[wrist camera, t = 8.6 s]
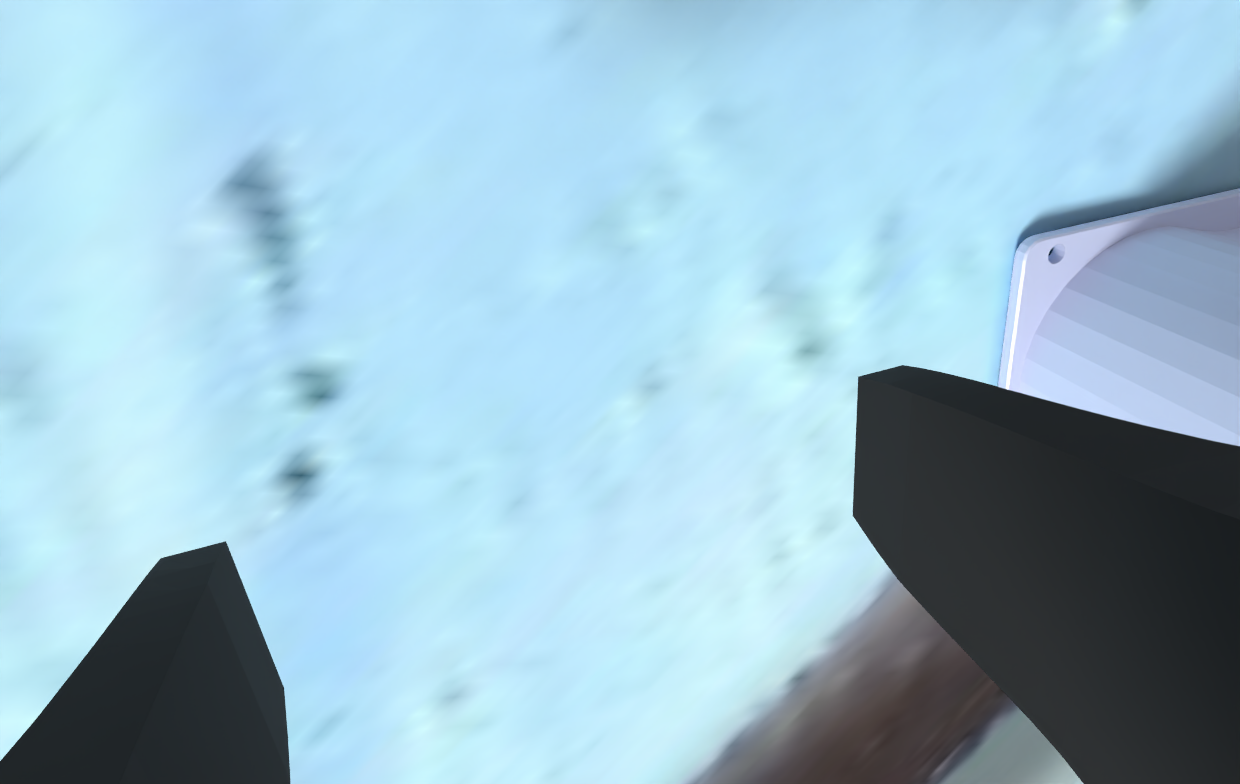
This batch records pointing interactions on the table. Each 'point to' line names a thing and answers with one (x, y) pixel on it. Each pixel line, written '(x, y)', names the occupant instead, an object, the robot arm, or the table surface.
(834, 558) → the table surface
